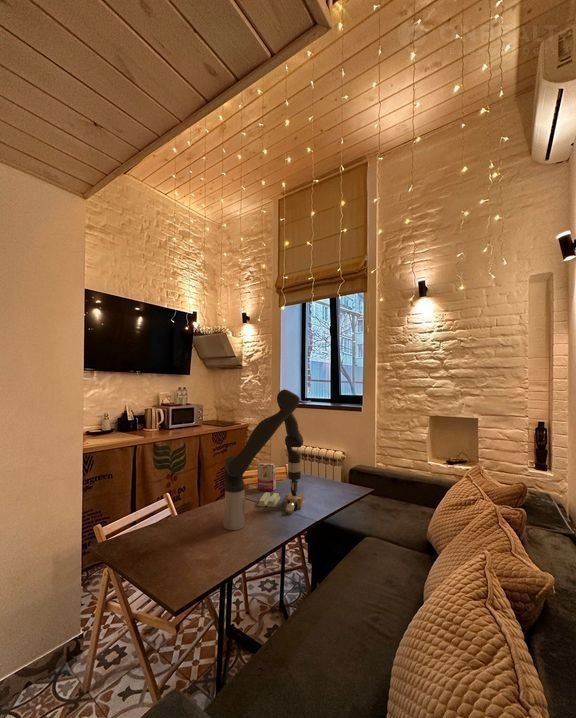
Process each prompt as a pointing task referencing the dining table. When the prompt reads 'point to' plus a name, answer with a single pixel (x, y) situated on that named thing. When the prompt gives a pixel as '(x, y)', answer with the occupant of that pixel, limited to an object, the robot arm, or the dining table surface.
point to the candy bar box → (266, 476)
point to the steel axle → (291, 506)
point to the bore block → (298, 498)
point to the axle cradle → (269, 500)
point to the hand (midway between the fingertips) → (294, 500)
